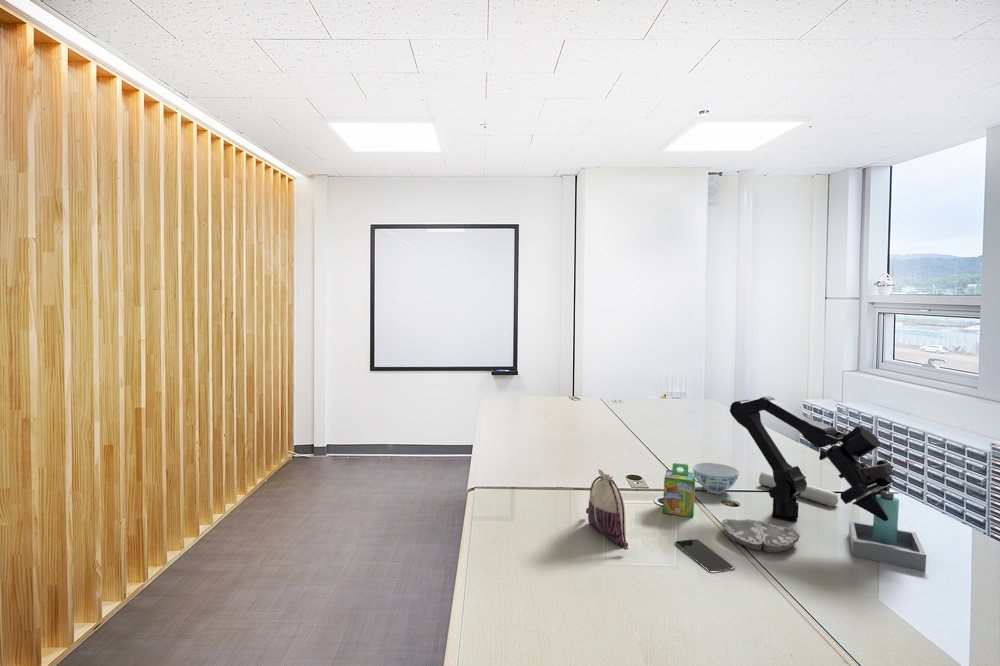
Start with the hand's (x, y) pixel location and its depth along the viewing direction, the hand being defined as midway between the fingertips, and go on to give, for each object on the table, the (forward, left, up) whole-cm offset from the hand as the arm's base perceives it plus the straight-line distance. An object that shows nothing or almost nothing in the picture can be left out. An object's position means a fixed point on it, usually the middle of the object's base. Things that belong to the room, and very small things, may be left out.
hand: (891, 518), depth 138 cm
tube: (-22, +36, -10) cm, 43 cm away
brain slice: (-30, -10, -10) cm, 33 cm away
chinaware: (-47, +26, -10) cm, 54 cm away
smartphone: (-42, -27, -10) cm, 51 cm away
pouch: (-68, -28, -10) cm, 75 cm away
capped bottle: (-1, +1, -7) cm, 7 cm away
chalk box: (-54, +1, -10) cm, 55 cm away
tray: (-1, +1, -10) cm, 10 cm away
